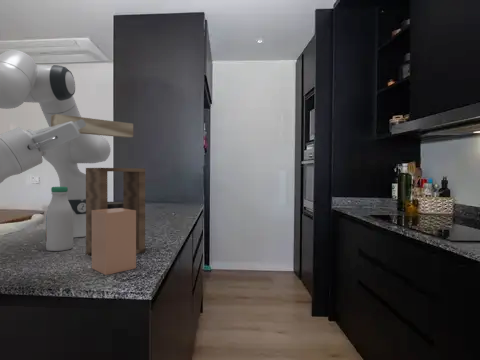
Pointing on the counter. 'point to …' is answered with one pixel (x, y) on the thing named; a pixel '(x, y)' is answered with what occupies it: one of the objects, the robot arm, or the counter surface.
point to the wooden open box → (131, 199)
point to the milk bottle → (59, 221)
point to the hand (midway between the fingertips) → (79, 123)
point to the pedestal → (113, 240)
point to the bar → (97, 126)
